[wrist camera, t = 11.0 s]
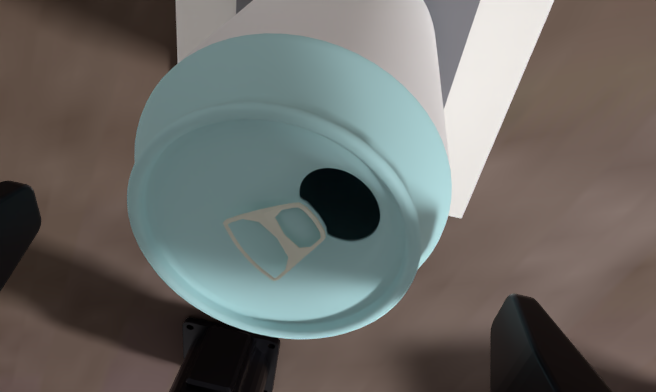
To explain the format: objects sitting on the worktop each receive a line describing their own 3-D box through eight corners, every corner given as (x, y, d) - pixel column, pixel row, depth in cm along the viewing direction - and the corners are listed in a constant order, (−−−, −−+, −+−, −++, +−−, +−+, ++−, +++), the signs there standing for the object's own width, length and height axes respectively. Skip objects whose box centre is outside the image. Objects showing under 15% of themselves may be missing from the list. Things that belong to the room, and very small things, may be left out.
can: (288, -85, 16) (103, -8, 7) (470, -3, 17) (542, 174, 7) (240, 90, 20) (83, 294, 11) (388, 151, 21) (365, 395, 11)
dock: (460, 211, 23) (461, 219, 23) (185, 150, 24) (180, 157, 23) (603, -131, 15) (610, -131, 14) (176, -215, 15) (167, -218, 15)
